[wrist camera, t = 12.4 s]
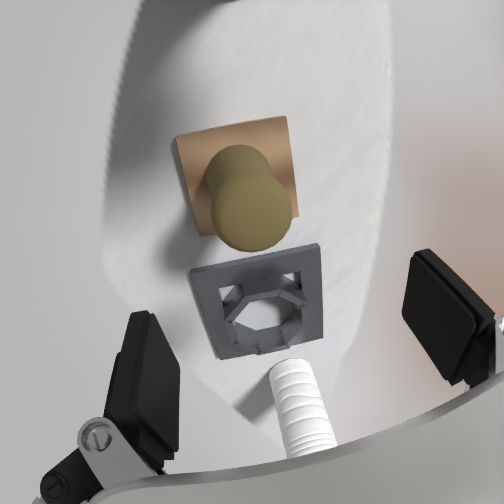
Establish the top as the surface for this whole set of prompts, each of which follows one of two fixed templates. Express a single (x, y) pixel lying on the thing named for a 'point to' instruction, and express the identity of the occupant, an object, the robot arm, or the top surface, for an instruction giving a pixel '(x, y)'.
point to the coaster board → (215, 139)
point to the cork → (247, 200)
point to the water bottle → (300, 409)
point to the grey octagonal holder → (257, 288)
